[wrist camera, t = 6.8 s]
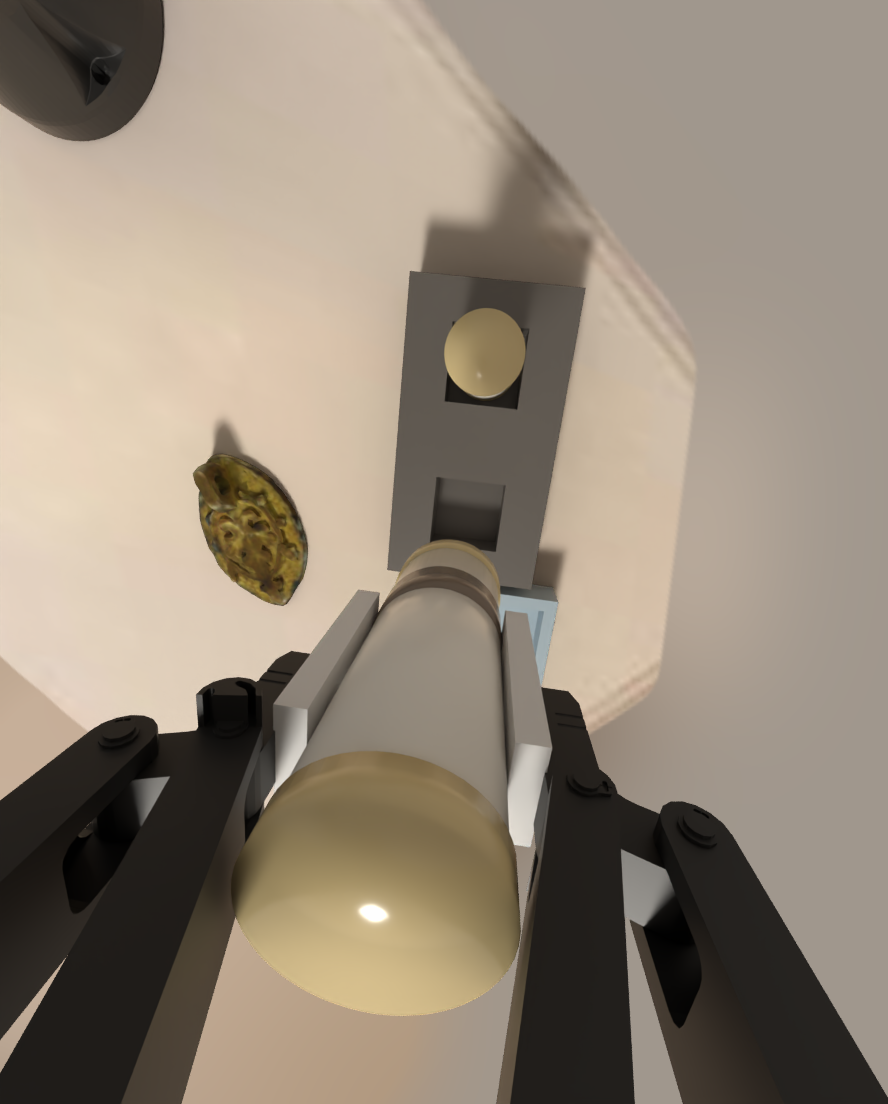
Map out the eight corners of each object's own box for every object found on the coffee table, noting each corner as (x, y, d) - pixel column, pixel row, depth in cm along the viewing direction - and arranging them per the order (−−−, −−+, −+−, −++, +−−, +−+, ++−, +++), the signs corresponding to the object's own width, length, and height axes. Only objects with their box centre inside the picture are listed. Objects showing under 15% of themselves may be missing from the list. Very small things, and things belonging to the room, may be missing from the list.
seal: (335, 581, 44) (263, 435, 40) (323, 598, 40) (240, 436, 36) (251, 614, 45) (173, 475, 41) (230, 635, 40) (140, 480, 37)
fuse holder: (418, 286, 35) (409, 271, 31) (574, 302, 34) (585, 287, 30) (396, 555, 41) (387, 569, 37) (527, 573, 40) (530, 589, 37)
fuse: (460, 334, 34) (449, 304, 25) (520, 341, 34) (531, 312, 25) (453, 397, 36) (440, 391, 26) (510, 404, 36) (518, 400, 26)
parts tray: (422, 569, 41) (416, 582, 38) (552, 587, 41) (558, 602, 37) (409, 698, 46) (403, 719, 42) (527, 716, 45) (530, 739, 42)
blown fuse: (403, 532, 20) (225, 777, 6) (507, 546, 19) (545, 832, 6) (395, 626, 21) (235, 987, 8) (492, 640, 21) (496, 1038, 8)
